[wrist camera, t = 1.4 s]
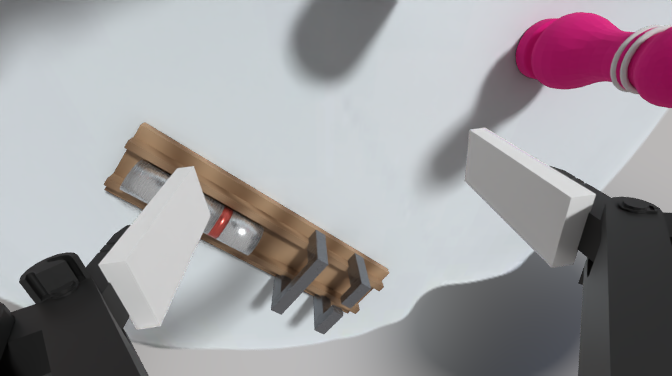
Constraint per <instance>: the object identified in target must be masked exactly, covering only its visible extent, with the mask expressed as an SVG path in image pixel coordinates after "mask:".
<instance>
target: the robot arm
mask: <svg viewBox="0 0 672 376" xmlns="http://www.w3.org/2000/svg"><path fill="white" fill-rule="evenodd" d="M464 181H465V182H466V183H467V184H468V185H469V186H470V187H471V188H472V189H473V190H474V191H475V192H476V193H477V194H478V195H479V196H480V197H481V198H482V199H483V200H484V201H485V202H486V203H487V204H488V205H489V206H490V207H491V208H492V209H493V210H494V211H495V212H496V213H497V214H498V215H499V216H500V217H501V218H502V219H503V220H504V221H505V222H506V223H507V224H508V225H509V226H510V227H511V228H512V229H513V230H514V231H515V232H516V233H517V234H518V235H519V236H520V237H521V238H522V239H523V240H524V241H525V242H526V243H527V244H528V245H529V246H530V247H531V248H532V249H533V250H534V251H535V252H536V253H538V255H539V256H540V257H541V258H542V259H543V260H545V262H546V263H547V264H548V265H549V266H550V267H552V268H553V267H560V266H567V265H573V264H574V261H575V258H576V255H577V252H578V250H579V251H580V252H582V253H583V254H584V255H585V256H587V260H586V263H585V266H584V268H583V271H582V274H581V277H580V280H579V284H583V297H582V298H583V299H582V315H581V333H580V334H581V335H580V352H579V370H578V376H672V213H663V212H662V211H661V210H660V208H658V207H657V206H655V205H653V204H651V203H649V202H646V201H643V200H640V199H636V198H629V197H613V198H610V197H609V196H607V195H606V194H604V193H602V192H600V191H599V190H597V189H595V188H594V187H592V186H590V185H588V184H587V183H585V184H584V182H583V181H581V180H580V179H578V178H575V176H573V175H571V174H569V173H568V172H566V171H564V170H561V169H558V168H555V167H552V166H548V165H547V164H545V163H543V162H542V161H540V160H538V159H537V158H535V157H533V156H532V155H530V154H528V153H527V152H525V151H523V150H522V149H520V148H518V147H517V146H515V145H513V144H512V143H510V142H508V141H507V140H505V139H503V138H502V137H500V136H498V135H497V134H495V133H493V132H492V131H490V130H488V129H487V128H478V129H470V130H469V139H468V149H467V160H466V170H465V180H464ZM210 216H211V215H210V212H209V209H208V206H207V203H206V200H205V197H204V194H203V192H202V189H201V186H200V183H199V180H198V177H197V174H196V171H195V168H194V166H191V167H183V168H177V169H176V170H175V172H174V173H173V174H172V175H171V176H170V178H169V179H168V180H167V181H166V183H165V184H164V185H163V186H162V187H161V189H160V190H159V191H158V192H157V194H156V195H155V196H154V197H153V198H152V200H151V201H150V202H149V203H148V205H147V206H146V207H145V208H144V209H143V211H142V212H141V213H140V214H139V216H138V217H137V218H136V219H135V220H134V222H133V223H132V224H131V225H127V226H125V227H124V228H122V229H121V230H120V231H118V232H117V233H115V234H114V235H113V236H112V237H111V239H110V240H109V241H108V242H107V243H106V244H107V245H105V246H104V247H103V248H102V249H101V250H100V253H98V254H97V255H96V256H95V257H94V258H93V260H92V261H91V262H90V263H89V264H88V265H87V267H86V268H85V266H84V264H83V263H82V261H81V260H80V258H79V256H78V255H77V254H75V253H62V254H57V255H54V256H52V257H49V258H46V259H44V260H42V261H40V262H38V263H37V264H35V265H33V266H32V267H31V268H29V269H28V270H27V271H26V272H25V273H24V274H23V275H22V276H21V277H20V281H19V283H20V284H21V285H22V286H23V288H24V289H25V290H26V292H27V293H28V294H29V296H30V297H31V298H32V299H33V301H34V302H35V303H36V304H35V305H32V306H29V307H26V308H23V309H20V310H17V311H14V312H10V311H9V310H8V308H7V307H6V306H5V305H4V304H2V303H1V302H0V376H148V374H147V372H146V370H145V368H144V366H143V364H142V362H141V361H140V358H139V357H138V355H137V353H136V351H135V349H134V347H133V345H132V343H131V341H130V339H129V337H128V335H127V334H126V332H125V331H124V329H123V327H124V326H125V324H126V322H127V320H128V319H129V318H130V319H131V321H132V323H133V325H134V326H135V328H136V330H139V329H146V328H152V327H159V326H161V324H162V322H163V320H164V318H165V315H166V313H167V311H168V309H169V307H170V304H171V302H172V300H173V298H174V296H175V293H176V291H177V289H178V287H179V284H180V282H181V280H182V278H183V276H184V273H185V271H186V269H187V267H188V265H189V262H190V260H191V258H192V256H193V254H194V251H195V249H196V247H197V245H198V243H199V240H200V238H201V236H202V234H203V232H204V229H205V227H206V225H207V223H208V221H209V218H210Z"/></svg>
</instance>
